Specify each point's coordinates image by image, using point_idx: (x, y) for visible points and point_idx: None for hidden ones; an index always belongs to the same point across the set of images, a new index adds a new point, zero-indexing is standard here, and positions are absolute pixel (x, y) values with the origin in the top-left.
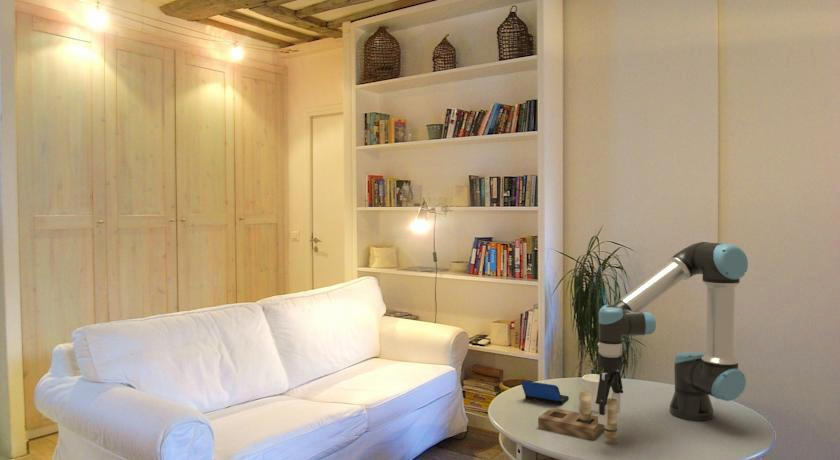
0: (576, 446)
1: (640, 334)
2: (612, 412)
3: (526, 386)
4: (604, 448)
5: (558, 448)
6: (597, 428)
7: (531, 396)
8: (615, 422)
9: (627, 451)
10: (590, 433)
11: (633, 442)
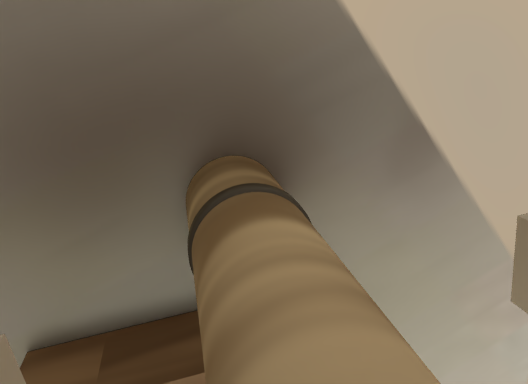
0: (434, 301)
1: None
2: (383, 313)
3: None
4: (370, 169)
5: (505, 342)
6: None
7: None
8: (282, 222)
9: (323, 11)
10: None
11: (109, 55)
